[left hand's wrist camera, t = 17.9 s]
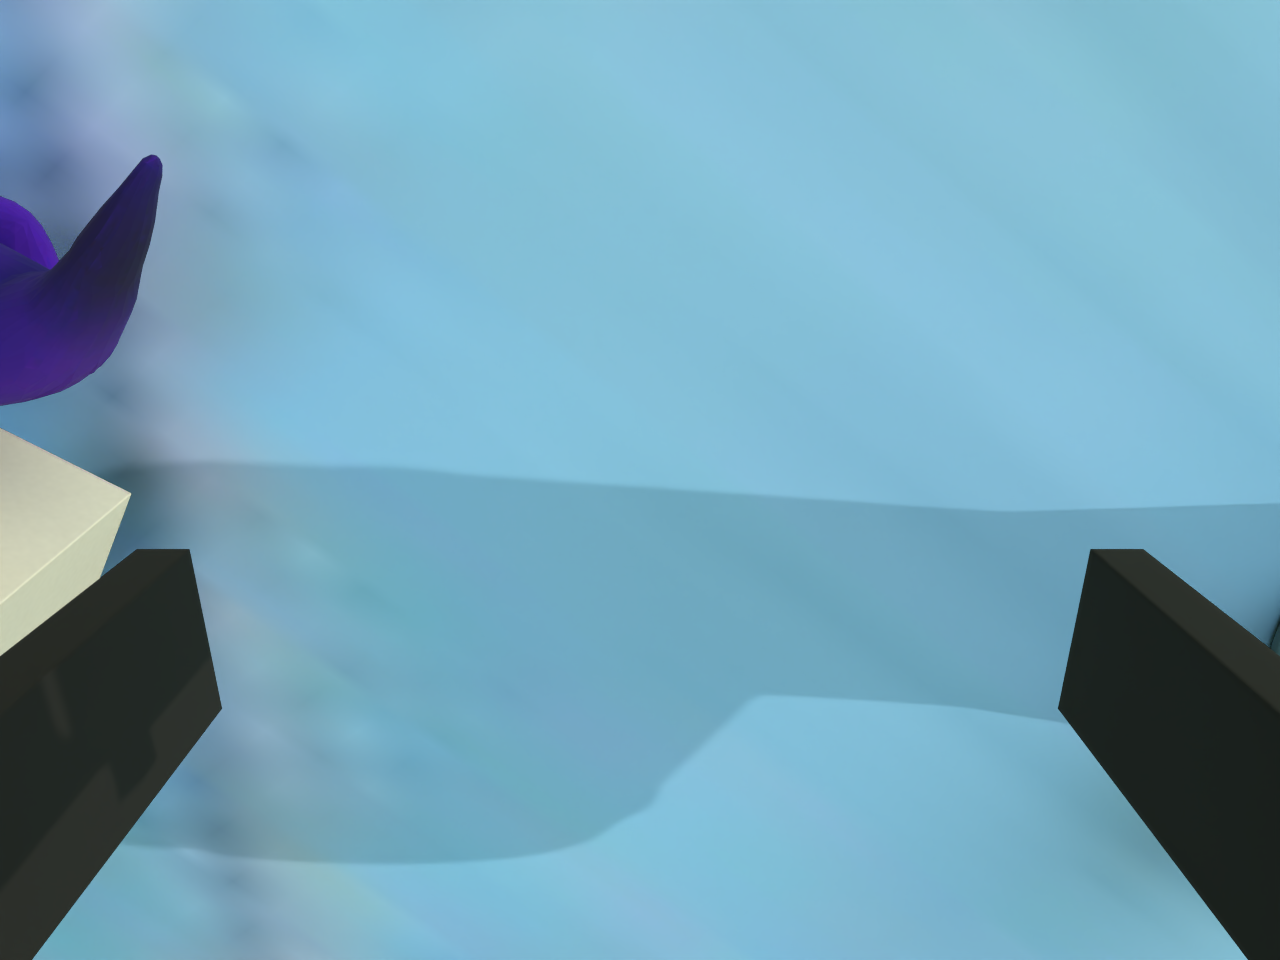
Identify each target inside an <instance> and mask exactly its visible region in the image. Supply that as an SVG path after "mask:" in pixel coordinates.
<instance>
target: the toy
mask: <svg viewBox="0 0 1280 960" xmlns="http://www.w3.org/2000/svg"><path fill="white" fill-rule="evenodd" d="M161 179H162V163H161V161H160V159H159V158H158V157H157V156H156V155H149V156H147V157H145V158H143V159H142V160H141V161H140V162H139V164H138V165H137V166H136V167H135V169H134V170H133V171H132V172H131V173H130V175H129V176H128V177H127V178H126V180H125V181H124V182H123V183H122V184H121V186H120V187H119V188H118V189H117V190H116V191H115V192H114V193H113V195H112V196H111V197H110V198H109V199H108V200H107V201H106V202H105V203H104V205H103V206H102V207H101V208H100V209H99V210H98V212H97V213H96V214H95V216H94V217H93V218H92V219H91V221H90V222H89V223H88V224H87V226H86V227H85V228H84V229H83V231H82V232H81V233H80V234H79V236H78V237H77V238H76V240H75V242H74V244H73V245H72V247H71V249H70V250H69V251H68V252H67V253H66V254H65V255H64V256H63V257H62V259H61V260H60V261H59V259H58V257H57V255H56V252H55V250H54V247H53V245H52V243H51V241H50V239H49V238H48V236H47V234H46V232H45V230H44V229H43V227H42V225H41V224H40V223H39V222H38V221H37V219H36V218H35V217H34V216H33V215H32V214H31V213H30V212H29V211H27V210H26V209H24V208H23V207H21V206H20V205H19V204H17V203H16V202H14V201H11V200H9V199H6V198H3V197H1V196H0V406H1V405H8V404H14V403H20V402H25V401H29V400H33V399H37V398H41V397H44V396H47V395H51V394H54V393H57V392H60V391H63V390H65V389H67V388H69V387H71V386H73V385H74V384H76V383H78V382H80V381H81V380H83V379H84V378H85V377H87V376H88V375H89V374H92V373H94V372H95V371H96V369H97V368H98V367H100V366H101V365H102V364H103V363H104V362H105V361H106V360H107V359H108V357H109V356H110V355H111V354H112V352H113V350H114V349H115V347H116V345H117V344H118V341H119V338H120V336H121V334H122V332H123V330H124V328H125V326H126V323H127V321H128V319H129V317H130V315H131V312H132V310H133V307H134V304H135V302H136V299H137V294H138V288H139V283H140V277H141V272H142V267H143V264H144V260H145V257H146V254H147V251H148V248H149V245H150V241H151V236H152V232H153V228H154V223H155V217H156V209H157V202H158V194H159V188H160V184H161Z"/></svg>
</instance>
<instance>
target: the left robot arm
mask: <svg viewBox="0 0 1280 960" xmlns="http://www.w3.org/2000/svg"><path fill="white" fill-rule="evenodd" d="M221 709H222V706H221V701H220V696H219V692H218V687H217V682H216V677H215V672H214V667H213V662H212V657H211V652H210V648H209V643H208V638H207V633H206V628H205V623H204V618H203V613H202V608H201V603H200V599H199V594H198V589H197V584H196V579H195V574H194V569H193V564H192V559H191V554H190V550H189V549H136V550H135V551H134V552H133V553H131V554H130V555H129V556H128V557H126V558H125V559H124V560H122V561H121V562H120V563H119V564H117V565H116V566H115V567H113V568H112V569H111V570H110V571H108V572H107V573H106V574H105V575H103V576H102V577H101V578H99V579H98V580H97V581H96V582H94V583H93V584H92V585H90V586H89V587H88V588H87V589H85V590H84V591H83V592H81V593H80V594H79V595H78V596H76V597H75V598H74V599H73V600H71V601H70V602H69V603H67V604H66V605H65V606H64V607H62V608H61V609H60V610H58V611H57V612H56V613H55V614H53V615H52V616H51V617H50V618H48V619H47V620H46V621H44V622H43V623H42V624H41V625H39V626H38V627H37V628H35V629H34V630H33V631H32V632H30V633H29V634H28V635H26V636H25V637H24V638H23V639H21V640H20V641H19V642H18V643H16V644H15V645H14V646H12V647H11V648H10V649H9V650H7V651H6V652H5V653H3V654H2V655H1V656H0V960H32V959H33V958H34V956H35V955H36V954H37V952H38V951H39V950H40V948H41V947H42V946H43V944H44V943H45V942H46V941H47V939H48V938H49V937H50V935H51V934H52V933H53V931H54V930H55V929H56V927H57V926H58V925H59V923H60V922H61V921H62V919H63V918H64V917H65V915H66V914H67V913H68V911H69V910H70V909H71V907H72V906H73V905H74V903H75V902H76V901H77V900H78V898H79V897H80V896H81V894H82V893H83V892H84V890H85V889H86V888H87V886H88V885H89V884H90V882H91V881H92V880H93V878H94V877H95V876H96V874H97V873H98V872H99V870H100V869H101V868H102V866H103V865H104V864H105V863H106V861H107V860H108V859H109V857H110V856H111V855H112V853H113V852H114V851H115V849H116V848H117V847H118V845H119V844H120V843H121V841H122V840H123V839H124V837H125V836H126V835H127V833H128V832H129V831H130V829H131V828H132V827H133V825H134V824H135V823H136V822H137V820H138V819H139V818H140V816H141V815H142V814H143V812H144V811H145V810H146V808H147V807H148V806H149V804H150V803H151V802H152V800H153V799H154V798H155V796H156V795H157V794H158V792H159V791H160V790H161V788H162V787H163V786H164V785H165V783H166V782H167V781H168V779H169V778H170V777H171V775H172V774H173V773H174V771H175V770H176V769H177V767H178V766H179V765H180V763H181V762H182V761H183V759H184V758H185V757H186V755H187V754H188V753H189V751H190V750H191V749H192V747H193V746H194V745H195V744H196V742H197V741H198V740H199V738H200V737H201V736H202V734H203V733H204V732H205V730H206V729H207V728H208V726H209V725H210V724H211V722H212V721H213V720H214V718H215V717H216V716H217V714H218V713H219V712H220V710H221ZM1058 709H1059V710H1060V712H1061V713H1062V714H1063V716H1064V717H1065V718H1066V720H1067V721H1068V722H1069V724H1070V725H1071V726H1072V728H1073V729H1074V730H1075V732H1076V733H1077V734H1078V736H1079V737H1080V738H1081V740H1082V741H1083V742H1084V744H1085V745H1086V746H1087V747H1088V749H1089V750H1090V751H1091V753H1092V754H1093V755H1094V757H1095V758H1096V759H1097V761H1098V762H1099V763H1100V765H1101V766H1102V767H1103V769H1104V770H1105V771H1106V773H1107V774H1108V775H1109V777H1110V778H1111V779H1112V781H1113V782H1114V783H1115V785H1116V786H1117V787H1118V788H1119V790H1120V791H1121V792H1122V794H1123V795H1124V796H1125V798H1126V799H1127V800H1128V802H1129V803H1130V804H1131V806H1132V807H1133V808H1134V810H1135V811H1136V812H1137V814H1138V815H1139V816H1140V818H1141V819H1142V820H1143V822H1144V823H1145V824H1146V825H1147V827H1148V828H1149V829H1150V831H1151V832H1152V833H1153V835H1154V836H1155V837H1156V839H1157V840H1158V841H1159V843H1160V844H1161V845H1162V847H1163V848H1164V849H1165V851H1166V852H1167V853H1168V855H1169V856H1170V857H1171V859H1172V860H1173V861H1174V863H1175V864H1176V865H1177V866H1178V868H1179V869H1180V870H1181V872H1182V873H1183V874H1184V876H1185V877H1186V878H1187V880H1188V881H1189V882H1190V884H1191V885H1192V886H1193V888H1194V889H1195V890H1196V892H1197V893H1198V894H1199V896H1200V897H1201V898H1202V900H1203V901H1204V902H1205V904H1206V905H1207V906H1208V907H1209V909H1210V910H1211V911H1212V913H1213V914H1214V915H1215V917H1216V918H1217V919H1218V921H1219V922H1220V923H1221V925H1222V926H1223V927H1224V929H1225V930H1226V931H1227V933H1228V934H1229V935H1230V937H1231V938H1232V939H1233V941H1234V942H1235V943H1236V944H1237V946H1238V947H1239V948H1240V950H1241V951H1242V952H1243V954H1244V955H1245V956H1246V958H1247V959H1248V960H1280V625H1279V627H1278V629H1277V632H1276V634H1275V637H1274V639H1273V642H1272V646H1271V649H1270V648H1269V647H1268V646H1266V645H1265V644H1264V643H1262V642H1261V641H1260V640H1259V639H1257V638H1256V637H1255V636H1254V635H1252V634H1251V633H1250V632H1248V631H1247V630H1246V629H1245V628H1243V627H1242V626H1241V625H1239V624H1238V623H1237V622H1236V621H1234V620H1233V619H1232V618H1230V617H1229V616H1228V615H1227V614H1225V613H1224V612H1223V611H1222V610H1220V609H1219V608H1218V607H1216V606H1215V605H1214V604H1213V603H1211V602H1210V601H1209V600H1207V599H1206V598H1205V597H1204V596H1202V595H1201V594H1200V593H1199V592H1197V591H1196V590H1195V589H1193V588H1192V587H1191V586H1190V585H1188V584H1187V583H1186V582H1184V581H1183V580H1182V579H1181V578H1179V577H1178V576H1177V575H1175V574H1174V573H1173V572H1172V571H1170V570H1169V569H1168V568H1167V567H1165V566H1164V565H1163V564H1161V563H1160V562H1159V561H1158V560H1156V559H1155V558H1154V557H1152V556H1151V555H1150V554H1149V553H1147V552H1146V551H1145V550H1144V549H1091V550H1090V554H1089V559H1088V564H1087V569H1086V574H1085V579H1084V584H1083V589H1082V594H1081V598H1080V603H1079V608H1078V613H1077V618H1076V623H1075V628H1074V633H1073V638H1072V643H1071V647H1070V652H1069V657H1068V662H1067V667H1066V672H1065V677H1064V682H1063V687H1062V692H1061V696H1060V701H1059V706H1058Z"/></svg>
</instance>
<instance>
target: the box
mask: <svg viewBox="0 0 1280 960" xmlns="http://www.w3.org/2000/svg"><path fill="white" fill-rule="evenodd" d="M130 496H131V493H130V492H128V491H126V490H124V489H122V488H120V487H118V486H116V485H114V484H112V483H110V482H108V481H106V480H104V479H102V478H100V477H98V476H96V475H94V474H92V473H90V472H88V471H86V470H84V469H82V468H80V467H78V466H76V465H73V464H71V463H69V462H67V461H65V460H63V459H61V458H59V457H57V456H55V455H53V454H51V453H49V452H47V451H45V450H43V449H41V448H39V447H37V446H35V445H33V444H31V443H29V442H27V441H25V440H23V439H21V438H19V437H17V436H15V435H13V434H11V433H9V432H7V431H5V430H3V429H1V428H0V656H1V655H2V654H3V653H5V652H6V651H7V650H9V649H10V648H11V647H12V646H14V645H15V644H16V643H18V642H19V641H20V640H21V639H23V638H24V637H25V636H26V635H28V634H29V633H30V632H32V631H33V630H34V629H35V628H37V627H38V626H39V625H41V624H42V623H43V622H44V621H46V620H47V619H48V618H50V617H51V616H52V615H53V614H55V613H56V612H57V611H58V610H60V609H61V608H62V607H64V606H65V605H66V604H67V603H69V602H70V601H71V600H73V599H74V598H75V597H76V596H78V595H79V594H80V593H81V592H83V591H84V590H85V589H87V588H88V587H89V586H90V585H92V584H93V583H94V582H96V581H97V580H98V579H99V578H100V576H101V573H102V571H103V568H104V565H105V563H106V560H107V557H108V555H109V552H110V549H111V547H112V544H113V541H114V539H115V536H116V533H117V531H118V528H119V525H120V523H121V520H122V517H123V515H124V512H125V509H126V507H127V504H128V501H129V499H130Z"/></svg>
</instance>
